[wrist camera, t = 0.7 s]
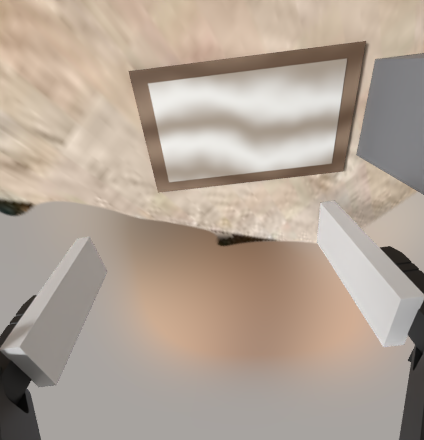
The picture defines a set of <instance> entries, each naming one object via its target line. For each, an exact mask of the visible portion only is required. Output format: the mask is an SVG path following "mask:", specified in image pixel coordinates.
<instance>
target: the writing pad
mask: <svg viewBox="0 0 424 440" xmlns="http://www.w3.org/2000/svg"><path fill="white" fill-rule="evenodd" d="M365 44H366V41H363V42H355V43H347V44H339V45H331V46H324V47H316V48H308V49H300V50H292V51H284V52H277V53H269V54H261V55H253V56H245V57H238V58H230V59H222V60H214V61H206V62H198V63H191V64H183V65H175V66H167V67H159V68H151V69H144V70H136V71H129V75H130V79H131V83H132V87H133V91H134V95H135V99H136V104H137V108H138V112H139V116H140V120H141V124H142V128H143V132H144V136H145V140H146V145H147V149H148V153H149V157H150V161H151V165H152V169H153V173H154V177H155V181H156V185H157V190H158V192H166V191H174V190H183V189H192V188H201V187H209V186H218V185H227V184H236V183H244V182H253V181H262V180H271V179H280V178H288V177H297V176H306V175H315V174H323V173H332V172H341V171H343V169H344V164H345V158H346V152H347V147H348V141H349V135H350V130H351V124H352V118H353V112H354V107H355V101H356V95H357V90H358V84H359V78H360V73H361V67H362V61H363V56H364V50H365Z"/></svg>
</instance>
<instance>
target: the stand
mask: <svg viewBox="0 0 424 440" xmlns="http://www.w3.org/2000/svg"><path fill="white" fill-rule="evenodd" d="M357 156H359V157H361V158H363V159H364V160H366V161H368V162H369V163H371V164H373V165H374V166H376V167H378V168H379V169H381V170H383V171H384V172H386V173H388V174H390V175H391V176H393V177H395V178H396V179H398V180H400V181H401V182H403V183H405V184H406V185H408V186H410V187H411V188H413V189H415V190H417V191H418V192H420V193H422V194H423V195H424V53H421V54H413V55H405V56H397V57H389V58H382V59H375V64H374V69H373V74H372V79H371V84H370V89H369V94H368V99H367V104H366V109H365V114H364V119H363V125H362V130H361V135H360V140H359V145H358V150H357Z"/></svg>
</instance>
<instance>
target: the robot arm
mask: <svg viewBox="0 0 424 440" xmlns="http://www.w3.org/2000/svg"><path fill="white" fill-rule="evenodd" d="M317 243H318V245H319V246H320V248H321V249H322V251H323V253H324V254H325V256H326V257H327V259H328V260H329V262H330V264H331V265H332V267H333V268H334V270H335V271H336V273H337V275H338V276H339V278H340V279H341V281H342V282H343V284H344V286H345V287H346V289H347V290H348V292H349V293H350V295H351V297H352V298H353V300H354V301H355V303H356V305H357V306H358V308H359V309H360V311H361V312H362V314H363V315H364V317H365V319H366V320H367V322H368V323H369V325H370V327H371V328H372V330H373V331H374V333H375V334H376V336H377V338H378V339H379V341H380V342H381V344H382V346H383V347H388V346H397V345H404V343H405V341H406V339H407V336H409V337H410V338H411V340H412V341H413V342H414V343H415V347H414V349H413V351H412V353H411V355H410V357H409V359H408V361H410V362H411V368H410V374H409V380H408V386H407V393H406V399H405V406H404V412H403V419H402V425H401V431H400V438H399V440H424V273H423V272H422V271H419V268H418V267H417V266H415V265H414V264H413V263H411V261H410V260H409V259H408V258H407V257H406V256H405V255H404V254H403V253H402V252H400V251H398V250H396V249H394V248H392V247H390V246H388V247H381V248H379V247H378V246H377V245H376V243H374V241H373V240H372V239H371V238H370V237H369V236H368V235H367V234H366V233H365V232H364V231H363V230H362V229H361V228H360V227H359V226H358V225H357V223H356V222H355V221H354V220H353V219H352V218H351V217H350V216H349V215H348V214H347V213H346V212H345V211H344V210H343V209H342V208H341V207H340V206H339V205H338V203H337V202H336V201H335V200H334V201H327V202H320V213H319V224H318V235H317ZM106 274H107V269H106V267H105V265H104V263H103V261H102V259H101V257H100V255H99V254H98V252H97V250H96V248H95V246H94V244H93V242H92V240H91V238H90V237H83V238H77V239H76V241H75V242H74V243H73V245H72V247H71V248H70V249H69V251H68V252H67V253H66V255H65V256H64V258H63V259H62V260H61V262H60V263H59V265H58V266H57V268H56V269H55V270H54V272H53V273H52V275H51V276H50V278H49V279H48V280H47V282H46V284H45V285H44V286H43V288H42V289H41V290H40V292H39V293H38V295H34V296H33V297H31V298H30V299H29V300H28V301H27V302H26V303H25V304H23V306H22V307H21V308H20V310H19V311H18V312H17V314H16V317H14V318H13V319H12V321H11V322H10V325H8V326H7V327H6V329H5V330H4V331H3V333H2V334H1V336H0V440H41V438H40V434H39V429H38V424H37V420H36V416H35V411H34V407H33V402H32V398H31V394H30V392H29V390H28V389H27V387H28V385H29V383H30V381H31V380H32V381H33V382H34V383H35V384H36V385H37V386H38V387H45V386H53V385H57V383H58V381H59V379H60V376H61V374H62V372H63V370H64V367H65V365H66V363H67V361H68V358H69V356H70V354H71V352H72V349H73V347H74V345H75V343H76V341H77V338H78V336H79V334H80V332H81V329H82V327H83V325H84V323H85V321H86V318H87V316H88V314H89V311H90V309H91V307H92V305H93V303H94V300H95V298H96V296H97V294H98V292H99V289H100V287H101V285H102V283H103V280H104V278H105V276H106Z"/></svg>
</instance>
